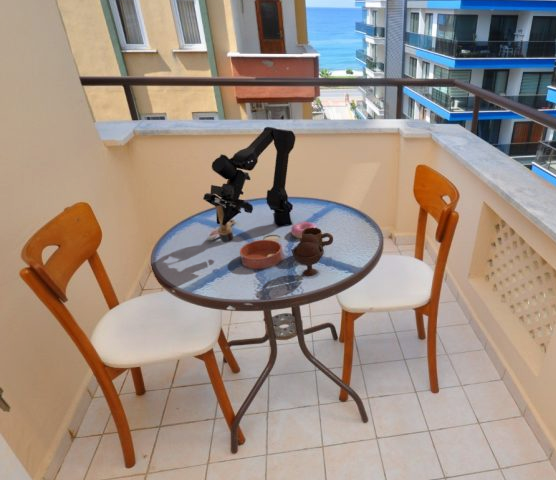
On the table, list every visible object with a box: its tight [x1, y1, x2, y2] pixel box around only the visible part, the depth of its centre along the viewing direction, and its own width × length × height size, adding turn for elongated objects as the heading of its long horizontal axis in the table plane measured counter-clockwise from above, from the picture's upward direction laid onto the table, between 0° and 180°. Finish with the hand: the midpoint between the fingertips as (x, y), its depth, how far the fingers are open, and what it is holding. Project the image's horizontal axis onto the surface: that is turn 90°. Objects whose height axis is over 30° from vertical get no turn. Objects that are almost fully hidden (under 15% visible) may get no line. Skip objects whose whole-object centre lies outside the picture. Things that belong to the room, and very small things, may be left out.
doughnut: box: [290, 221, 318, 239], centre depth 174 cm, size 11×11×4 cm
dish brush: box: [215, 206, 235, 243], centre depth 152 cm, size 5×5×13 cm
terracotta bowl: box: [239, 239, 284, 270], centre depth 156 cm, size 15×15×4 cm
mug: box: [302, 227, 334, 249], centre depth 158 cm, size 12×8×9 cm, turn 82°
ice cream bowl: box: [291, 234, 325, 277], centre depth 144 cm, size 11×11×15 cm
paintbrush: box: [206, 219, 236, 241], centre depth 175 cm, size 4×3×20 cm
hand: (220, 224), depth 151 cm, fingers closed on dish brush, 2 cm apart
